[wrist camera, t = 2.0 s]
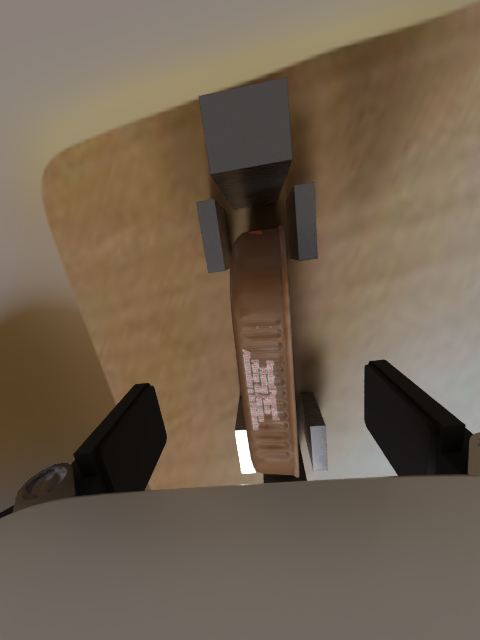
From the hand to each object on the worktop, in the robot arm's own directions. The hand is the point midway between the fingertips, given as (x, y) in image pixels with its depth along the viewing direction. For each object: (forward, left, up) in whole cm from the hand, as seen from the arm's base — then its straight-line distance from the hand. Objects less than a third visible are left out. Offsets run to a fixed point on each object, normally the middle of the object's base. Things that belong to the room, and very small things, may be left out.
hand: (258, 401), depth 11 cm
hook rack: (-1, 0, -9) cm, 9 cm away
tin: (-1, 0, -9) cm, 9 cm away
